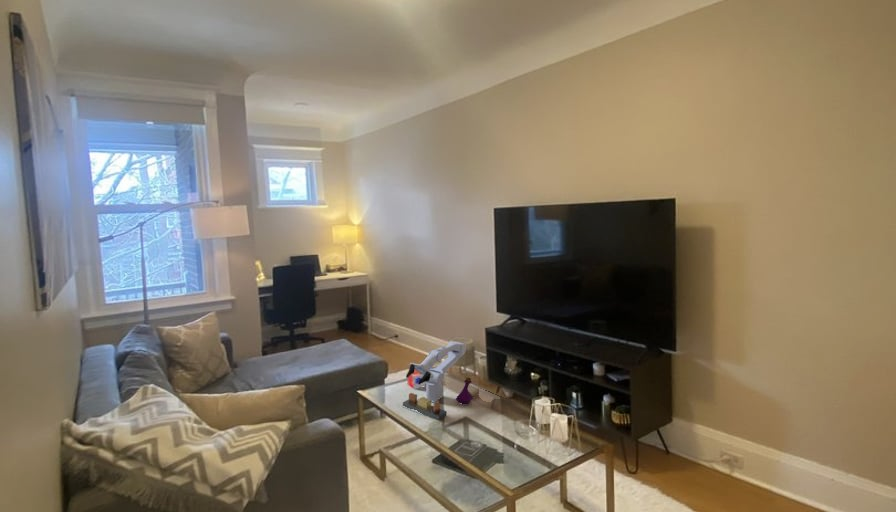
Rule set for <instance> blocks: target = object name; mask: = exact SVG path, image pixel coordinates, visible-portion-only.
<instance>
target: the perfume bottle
mask: <svg viewBox="0 0 896 512" xmlns="http://www.w3.org/2000/svg"><path fill="white" fill-rule="evenodd" d="M464 374H465V375H466V376H467V377H466V378H465V379H464V380H463V381H464V385H463V389H462V390H461V391H460V392H459V394H458V395H457V396H456V397H455V400H456V401H457V402H458V404H459V403H462V404H461V405H463V404H467V405H469V403H470V402H471V401H472V399H473V398H474V395H472V394H471V393H470V391H469V390H468V388H469V385H470V384H472V378H471V377H469V372H468V371H463V372H462V374H461V375H464ZM470 400H471V401H470Z"/></svg>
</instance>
